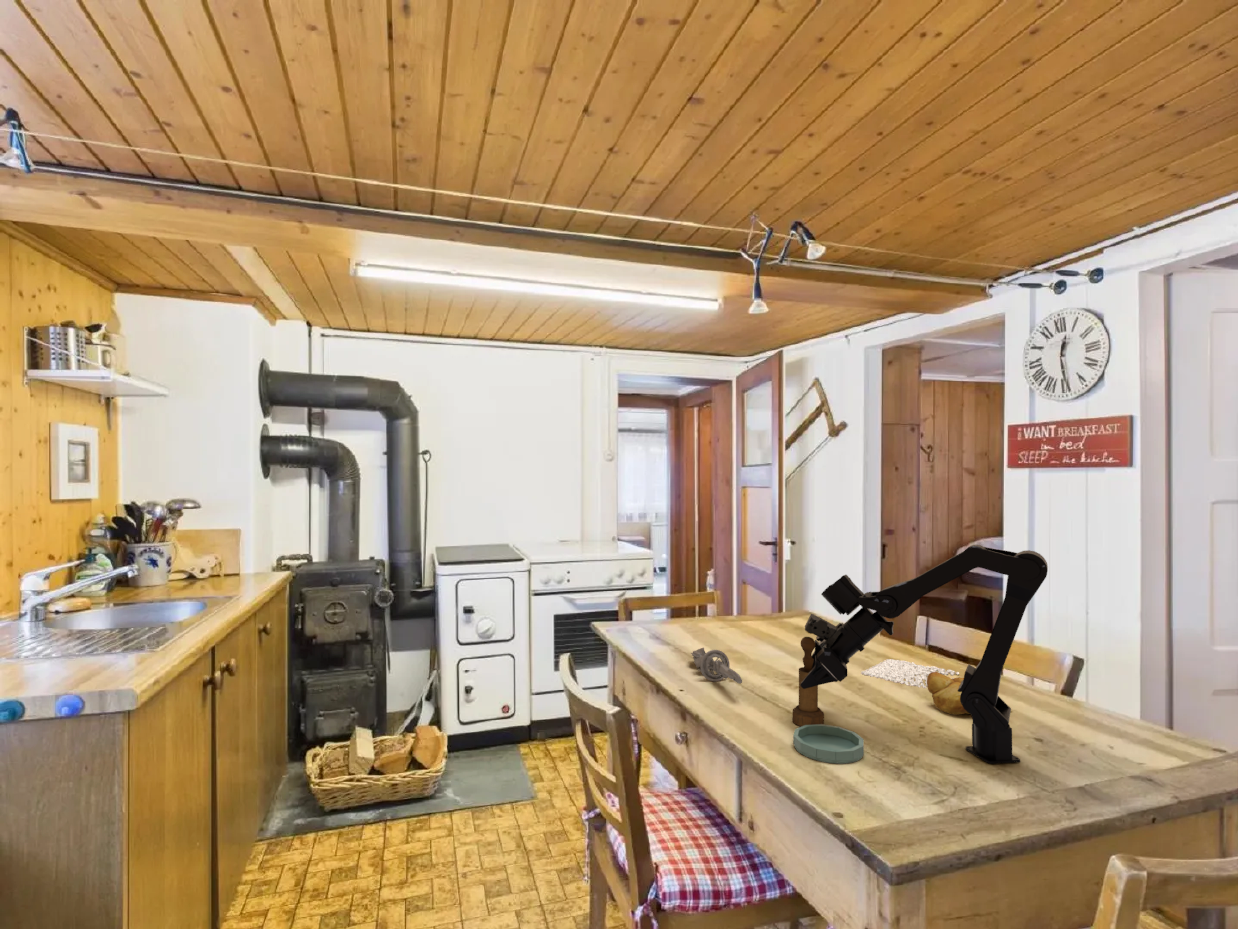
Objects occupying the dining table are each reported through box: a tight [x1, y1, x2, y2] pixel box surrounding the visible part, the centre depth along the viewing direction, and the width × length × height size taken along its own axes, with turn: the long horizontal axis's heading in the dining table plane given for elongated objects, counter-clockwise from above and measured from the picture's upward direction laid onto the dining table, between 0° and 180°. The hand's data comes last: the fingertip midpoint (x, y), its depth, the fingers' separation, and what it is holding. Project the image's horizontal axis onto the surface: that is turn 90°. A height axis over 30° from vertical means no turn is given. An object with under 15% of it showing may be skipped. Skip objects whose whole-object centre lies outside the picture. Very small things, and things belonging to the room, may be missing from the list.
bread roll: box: [926, 671, 971, 715], centre depth 139 cm, size 13×10×8 cm
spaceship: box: [690, 647, 743, 685], centre depth 159 cm, size 8×35×8 cm
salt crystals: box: [860, 658, 960, 689], centre depth 165 cm, size 20×20×2 cm
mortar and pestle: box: [791, 636, 825, 727], centre depth 132 cm, size 7×6×18 cm
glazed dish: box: [792, 723, 865, 765], centre depth 119 cm, size 13×13×2 cm
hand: (801, 680), depth 132 cm, fingers open, 9 cm apart
